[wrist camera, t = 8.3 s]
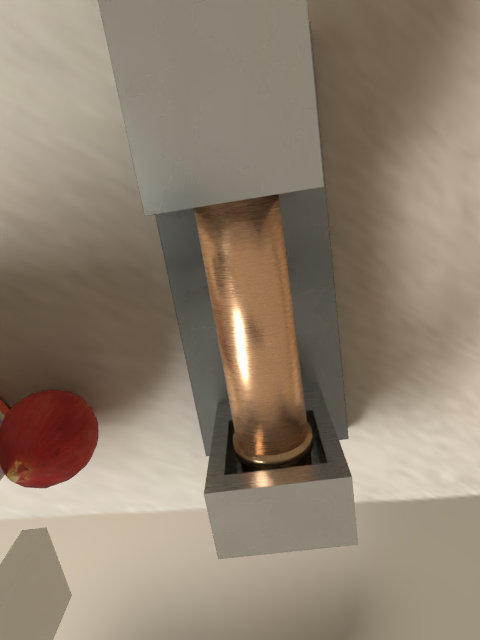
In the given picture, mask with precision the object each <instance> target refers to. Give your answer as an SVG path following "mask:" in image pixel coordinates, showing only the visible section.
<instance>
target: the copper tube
mask: <svg viewBox="0 0 480 640" xmlns="http://www.w3.org/2000/svg"><path fill="white" fill-rule="evenodd" d="M194 212H195V218H196V223H197V229H198V234H199V239H200V245H201V250H202V256H203V261H204V267H205V272H206V278H207V283H208V289H209V294H210V299H211V305H212V310H213V316H214V321H215V327H216V332H217V338H218V343H219V349H220V354H221V359H222V365H223V370H224V376H225V381H226V387H227V392H228V398H229V403H230V409H231V414H232V419H233V425H234V430H235V432H234V434H233V445H234V450H235V455H236V458H237V459H238V461H239V462H240V463H241V469H242V473H247V472H256V471H264V470H273V469H281V468H289V467H298V466H306V465H312V458H311V452H312V449H313V437H312V429H311V426H310V424H309V423H308V422H307V418H306V410H305V402H304V394H303V386H302V378H301V370H300V361H299V353H298V345H297V337H296V329H295V321H294V313H293V305H292V297H291V289H290V281H289V273H288V265H287V257H286V248H285V240H284V232H283V224H282V216H281V208H280V200H279V194H276V195H269V196H263V197H257V198H251V199H245V200H239V201H232V202H226V203H220V204H214V205H208V206H202V207H196V208H194Z"/></svg>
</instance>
